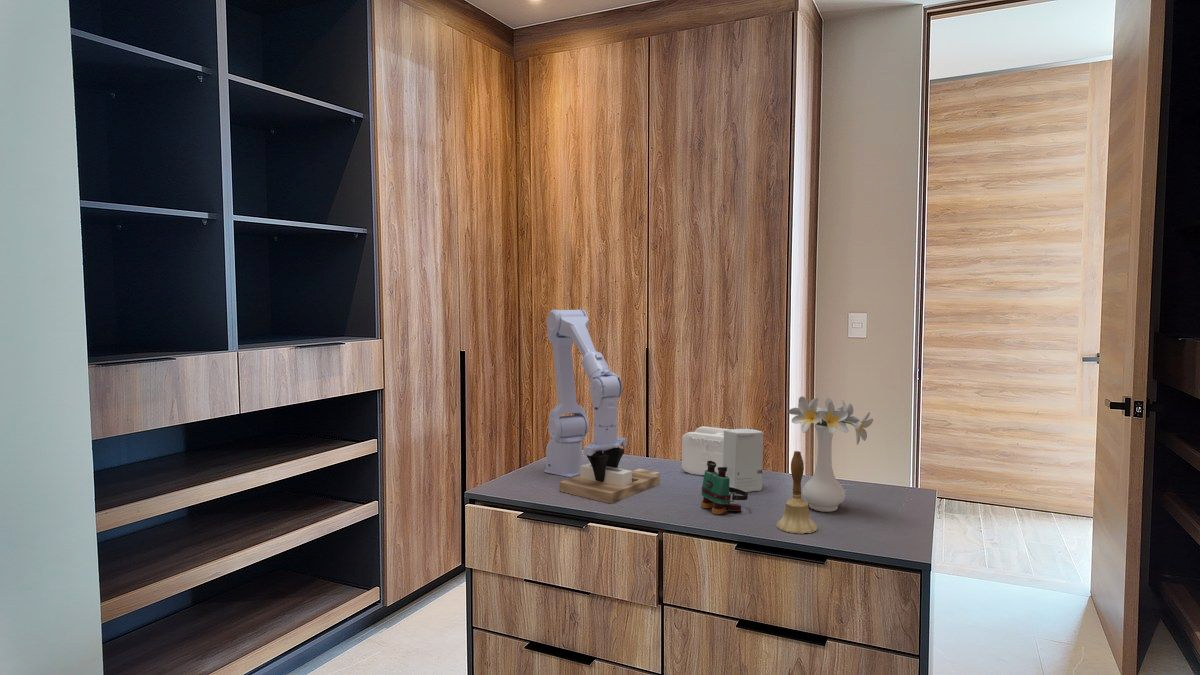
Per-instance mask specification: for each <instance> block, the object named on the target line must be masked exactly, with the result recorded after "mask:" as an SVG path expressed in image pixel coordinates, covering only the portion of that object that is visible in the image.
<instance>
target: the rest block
mask: <svg viewBox="0 0 1200 675" xmlns="http://www.w3.org/2000/svg"><path fill="white" fill-rule="evenodd" d="M633 471H636V472H641V473H647V474H652V475H657V476H659V480H660V479H661V478H660V477H661V472H659V471H654V470H649V469H644V468H637V469H634V470H633Z"/></svg>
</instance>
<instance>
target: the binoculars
mask: <svg viewBox="0 0 1200 675" xmlns="http://www.w3.org/2000/svg"><path fill="white" fill-rule="evenodd" d="M707 466H708V470H705V473H704V475H703V480H702V486H701V496H702V497H703V498H702V499H703V500H702V501H701V502H700V507H701V508H703V509H709V508H710V509H711V514H713V515H721V514H724V513H725V511H733V512H741V511H742V505H740V504H737V503H736V504H735V503H734V501H747V500H748V498H749V492H745V491H742V490H739V489H736V488H732V487H729V484H730V478H729V477H727V476H725V474H726V472H727V467H718V473H717V472H715V467H716V463H715V462H713V461H707ZM733 492H734V493H733ZM737 494H738V495H737ZM731 495H732V496H731Z"/></svg>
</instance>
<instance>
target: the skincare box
mask: <svg viewBox="0 0 1200 675" xmlns="http://www.w3.org/2000/svg"><path fill="white" fill-rule="evenodd" d="M729 429H730V428H729ZM763 457H764V431H761V430H758V429H753V428H734V429H732V428H731V429H730V430H724V450H723V467H727V472H726V474H725V476H727V477H729V478H730V484H729V487H732V488H736V489H739V490H742V491H745V492H746V493H749V492H760V491H763V468H764V466H763V462H764V460H763V459H764V458H763ZM732 493H734V492H732ZM734 494H735V493H734Z"/></svg>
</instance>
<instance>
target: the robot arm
mask: <svg viewBox="0 0 1200 675" xmlns="http://www.w3.org/2000/svg"><path fill="white" fill-rule="evenodd" d="M545 322H546V330H547V331H546V332H547V339H548V342H550V343H552V344H551V345H552V354H553V355H552V357H553V366H554V375H555V376H554V377H555V389H556V397H557V398H556V399H557V404H556V405H555V407H554V408H552V409H551V411H550V412H549V413H548V424H547V429H548V434H549V436H550V438H551V439H549V441H548V442H547V444H546V448H545V449H546V450H545V454H546V455H545V465H546V466H545V467H546V468H545V469H544V473H547V474H553V475H557V476H561V477H567V478H573V477H577V476H580V466H582V465H583V455H584V456H586V457H587V459H588V461H589V463H591V465H592V468H593V471H594V475H595V479H596V481H599V482H604V478H605V468H606V466H608V467H613V468H619V465H620V462H621V459H622V457H623V456H624V454H625V448H620V447H627V438H626V437H621V436H620V437H618V399H619V398H620V397H621V396H622V392H623V382H622V380H621V377H620V376H619V375H617V374H616V373H614V372H613V371H611V369H610V367H609V365H608V363H607V361H606V360H605V359H606V358H605V357H604V355H603V354H602V353H601V352H600V351H597V350H596V348H595V346H594V342H593V340H592V338H591V335H590V333H589V330H588V329H589V325H590V319H589V317H588V313H587V312H586V310H584V309H582V308H579V309H551V310H550V311H549V313H548V315H547V317H546V321H545ZM573 343H574V344H575V346H576V347H577V349H578V351H579V353H580V354H581V355H582V359H581V365H582V368H583V369H584V371H585V374H586V376H587V378H588V381H589V382H590V386H589V393H590V397H591V404H592V407H593V420H594V421H593V442H591V443H590V444H587V445H585V446H583V441H585V438H586V436H587V435H588V433H589V429H590V425H589V423H590V422H589V421H588V418H587V412H586V409H585V408H583V406H581V405H580V404H578V403H577V402H578V401H577V393H576V392H577V391H576V385H575V375H574V374H575V372H574V371H575V370H574V362H573V360H574V359H573V350H572V346H573ZM582 454H583V455H582Z"/></svg>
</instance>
